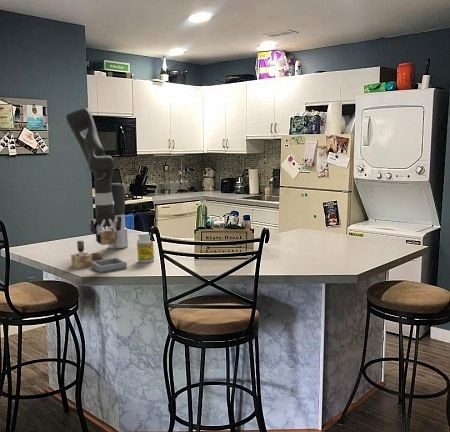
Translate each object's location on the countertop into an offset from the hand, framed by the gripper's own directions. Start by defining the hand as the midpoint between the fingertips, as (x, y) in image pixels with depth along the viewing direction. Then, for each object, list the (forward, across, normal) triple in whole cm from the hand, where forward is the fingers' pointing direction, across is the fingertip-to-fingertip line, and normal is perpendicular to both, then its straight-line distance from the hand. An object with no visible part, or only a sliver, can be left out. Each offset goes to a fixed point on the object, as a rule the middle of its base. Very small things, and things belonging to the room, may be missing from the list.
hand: (106, 241), depth 216 cm
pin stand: (+12, 0, -17) cm, 20 cm away
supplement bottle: (+12, -18, -1) cm, 22 cm away
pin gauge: (+12, +8, -12) cm, 18 cm away
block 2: (+1, 0, 0) cm, 1 cm away
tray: (+12, 0, 0) cm, 12 cm away
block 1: (+12, +8, -12) cm, 18 cm away
